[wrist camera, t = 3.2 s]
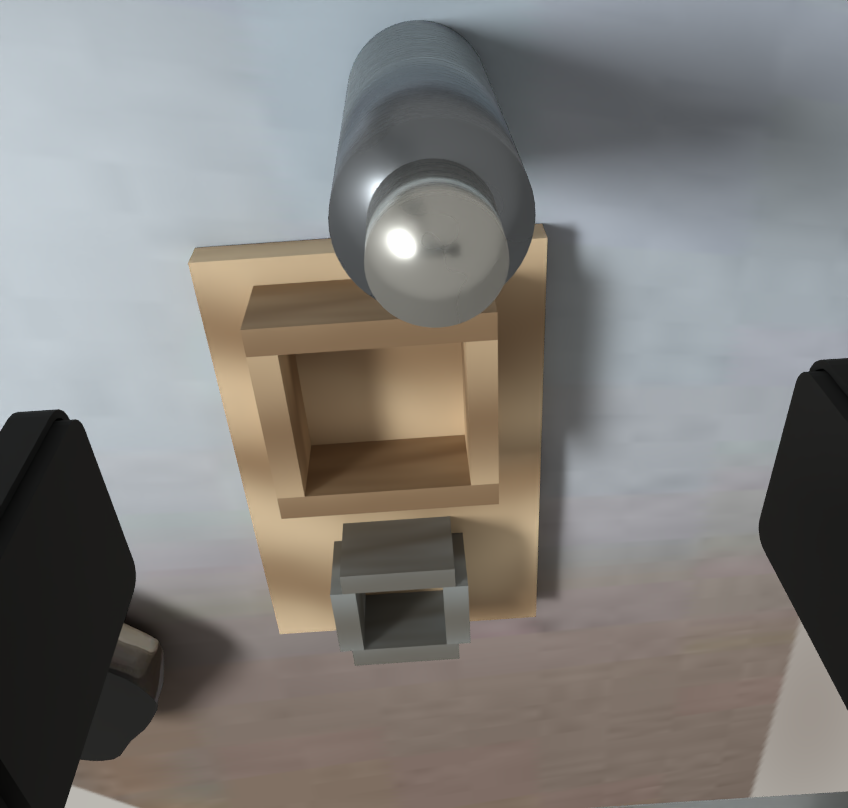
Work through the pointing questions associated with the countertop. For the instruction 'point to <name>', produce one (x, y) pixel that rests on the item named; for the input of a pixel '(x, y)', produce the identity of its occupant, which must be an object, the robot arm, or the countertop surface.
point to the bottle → (427, 179)
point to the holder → (380, 447)
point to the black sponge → (126, 695)
